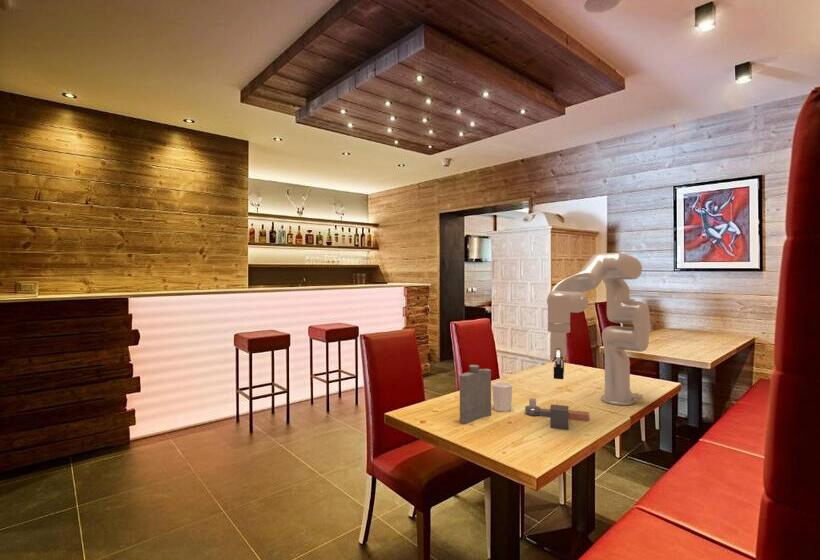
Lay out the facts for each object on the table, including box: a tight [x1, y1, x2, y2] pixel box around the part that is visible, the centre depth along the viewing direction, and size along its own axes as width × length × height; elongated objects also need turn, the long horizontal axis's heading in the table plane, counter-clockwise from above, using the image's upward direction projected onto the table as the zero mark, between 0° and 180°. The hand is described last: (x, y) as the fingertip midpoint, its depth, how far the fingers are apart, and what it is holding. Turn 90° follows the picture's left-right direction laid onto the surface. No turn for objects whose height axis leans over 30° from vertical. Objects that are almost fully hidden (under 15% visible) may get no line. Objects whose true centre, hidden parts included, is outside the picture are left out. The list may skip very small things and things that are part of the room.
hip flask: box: [459, 364, 492, 425], centre depth 157 cm, size 16×4×20 cm, turn 129°
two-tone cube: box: [549, 404, 570, 431], centre depth 149 cm, size 6×6×6 cm
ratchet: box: [524, 397, 590, 422], centre depth 158 cm, size 23×6×6 cm, turn 69°
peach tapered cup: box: [491, 381, 513, 412], centre depth 168 cm, size 8×8×10 cm
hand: (558, 375), depth 148 cm, fingers open, 9 cm apart
